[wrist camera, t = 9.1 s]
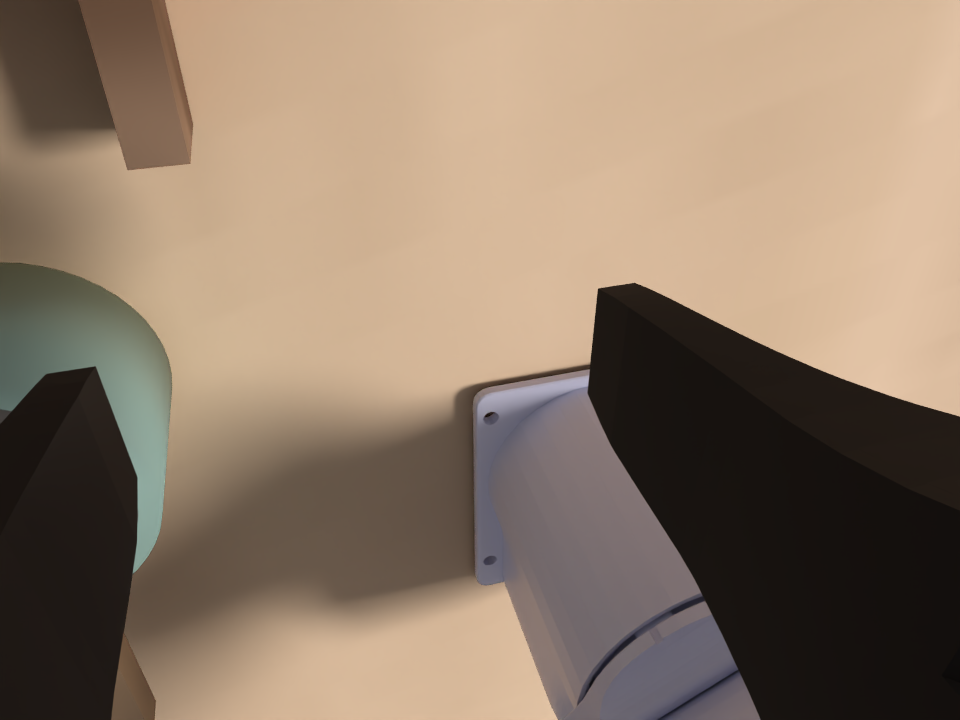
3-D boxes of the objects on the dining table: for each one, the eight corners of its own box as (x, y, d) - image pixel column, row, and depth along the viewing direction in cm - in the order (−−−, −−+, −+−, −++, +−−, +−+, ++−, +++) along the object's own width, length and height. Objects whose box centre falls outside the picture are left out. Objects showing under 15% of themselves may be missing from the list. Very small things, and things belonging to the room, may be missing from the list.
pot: (-196, 284, 17) (-318, 424, 13) (133, 243, 19) (111, 359, 15) (26, 646, 25) (-9, 800, 21) (241, 598, 27) (245, 733, 23)
